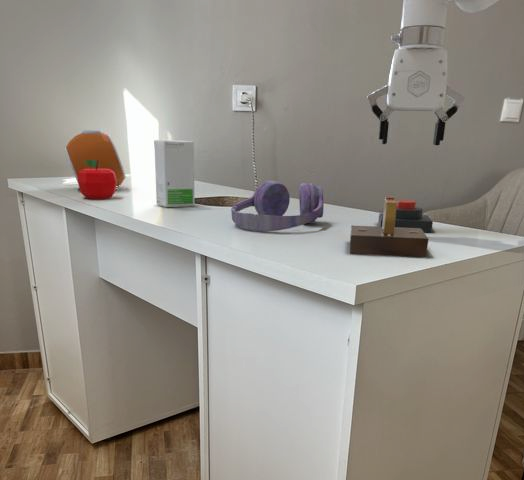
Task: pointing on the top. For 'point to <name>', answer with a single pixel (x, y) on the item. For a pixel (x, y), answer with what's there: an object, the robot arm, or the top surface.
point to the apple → (96, 181)
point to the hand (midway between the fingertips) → (410, 144)
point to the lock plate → (388, 241)
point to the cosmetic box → (174, 173)
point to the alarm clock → (94, 153)
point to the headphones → (278, 207)
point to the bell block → (410, 219)
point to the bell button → (406, 205)
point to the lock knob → (389, 215)
